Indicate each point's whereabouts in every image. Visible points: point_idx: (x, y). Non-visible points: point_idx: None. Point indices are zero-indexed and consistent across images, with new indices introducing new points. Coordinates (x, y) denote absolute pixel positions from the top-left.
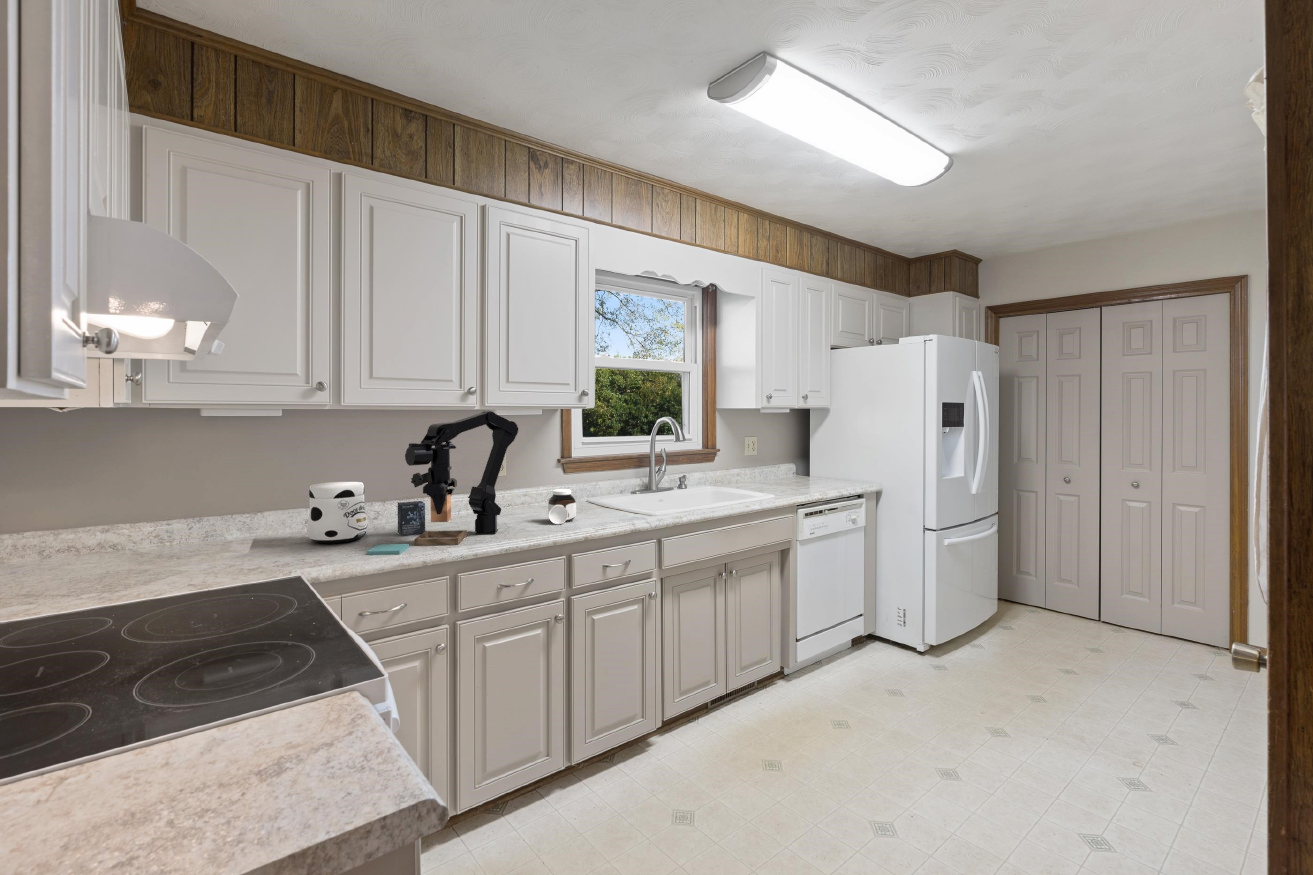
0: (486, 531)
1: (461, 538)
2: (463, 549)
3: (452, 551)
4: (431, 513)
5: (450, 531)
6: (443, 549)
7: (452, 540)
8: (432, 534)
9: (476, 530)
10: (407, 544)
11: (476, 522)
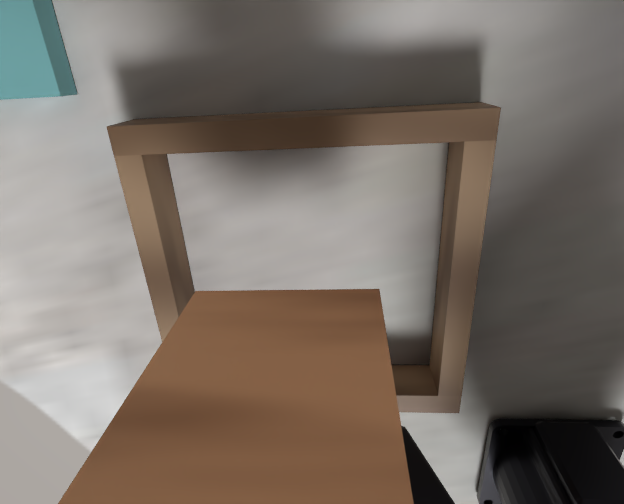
0: (494, 479)
1: None
2: (90, 418)
3: (35, 381)
4: (154, 365)
5: (445, 317)
6: (67, 332)
7: None
8: (453, 171)
9: (535, 433)
10: (39, 89)
11: (563, 487)
